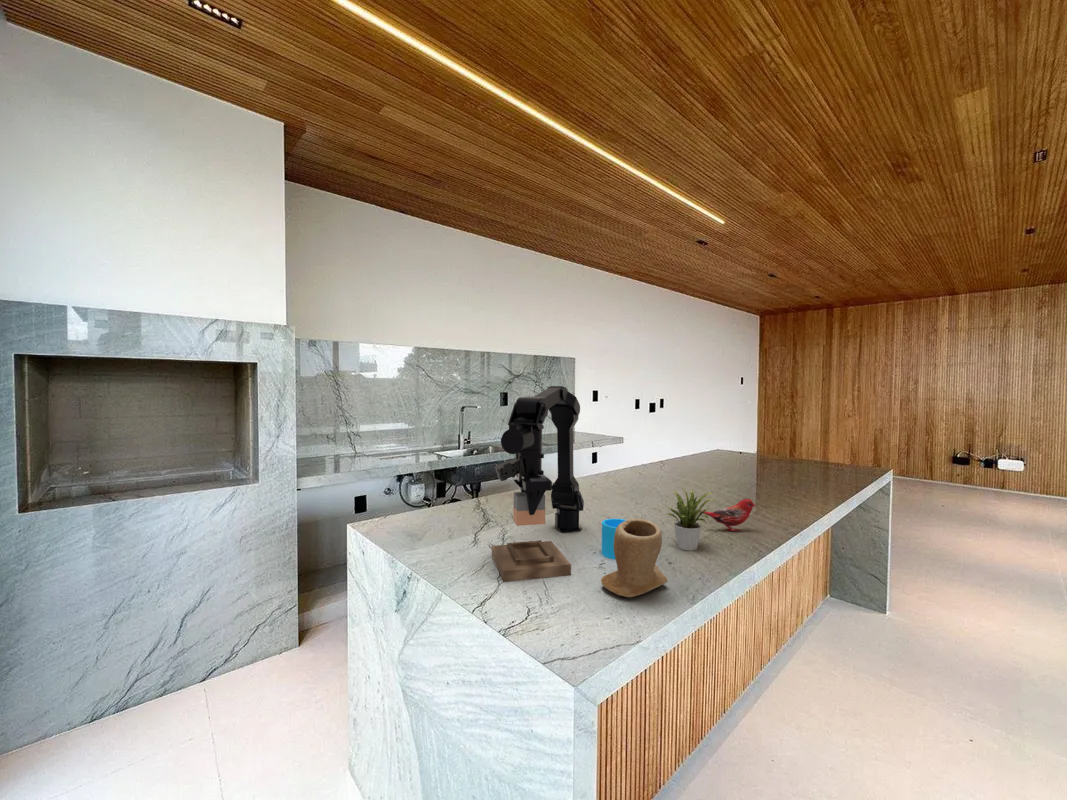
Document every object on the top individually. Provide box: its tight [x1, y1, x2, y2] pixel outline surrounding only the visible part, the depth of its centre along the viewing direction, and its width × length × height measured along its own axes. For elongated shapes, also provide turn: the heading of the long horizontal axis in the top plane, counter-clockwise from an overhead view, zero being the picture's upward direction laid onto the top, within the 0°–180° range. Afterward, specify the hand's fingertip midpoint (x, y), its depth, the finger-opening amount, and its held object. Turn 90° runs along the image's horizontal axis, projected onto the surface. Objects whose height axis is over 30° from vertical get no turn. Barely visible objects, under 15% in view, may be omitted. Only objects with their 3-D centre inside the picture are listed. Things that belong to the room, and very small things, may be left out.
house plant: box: [664, 487, 716, 552], centre depth 125 cm, size 14×14×16 cm
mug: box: [601, 518, 627, 561], centre depth 122 cm, size 12×8×8 cm
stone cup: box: [600, 518, 669, 598], centre depth 101 cm, size 15×12×15 cm
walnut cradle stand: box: [491, 540, 572, 583], centre depth 113 cm, size 16×16×4 cm
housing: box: [512, 491, 546, 527], centre depth 114 cm, size 7×4×7 cm, turn 104°
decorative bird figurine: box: [699, 498, 756, 532], centre depth 140 cm, size 3×18×10 cm, turn 89°
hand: (529, 512), depth 114 cm, fingers closed on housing, 4 cm apart
